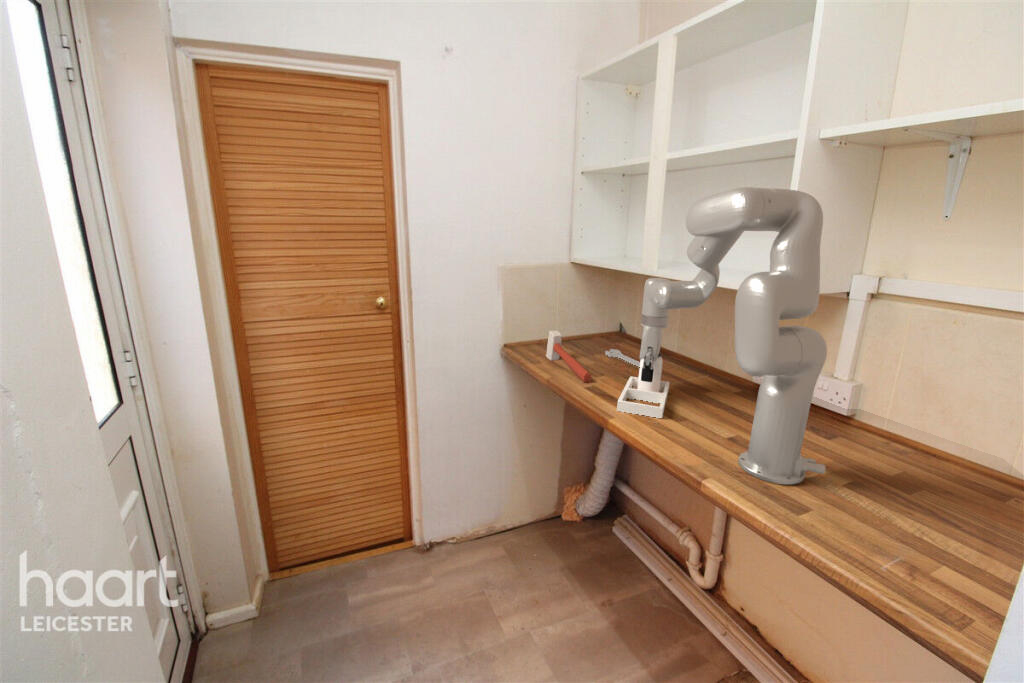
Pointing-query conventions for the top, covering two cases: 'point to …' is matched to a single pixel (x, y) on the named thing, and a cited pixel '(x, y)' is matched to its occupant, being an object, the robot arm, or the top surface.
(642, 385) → the can
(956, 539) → the top surface
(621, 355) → the adjustable wrench
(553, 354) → the mallet
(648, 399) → the caddy
